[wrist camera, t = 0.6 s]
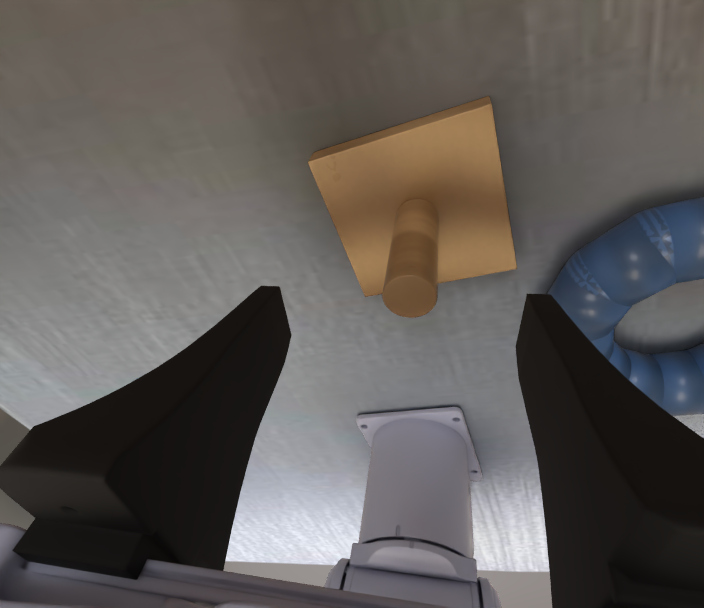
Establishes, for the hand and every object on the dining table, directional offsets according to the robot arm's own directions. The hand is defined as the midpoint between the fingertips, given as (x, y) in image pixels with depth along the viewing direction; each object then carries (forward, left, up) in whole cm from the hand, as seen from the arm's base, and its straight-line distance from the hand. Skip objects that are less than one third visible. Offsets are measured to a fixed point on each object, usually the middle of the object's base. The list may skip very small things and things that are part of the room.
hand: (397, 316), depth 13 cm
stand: (-1, 0, -10) cm, 10 cm away
